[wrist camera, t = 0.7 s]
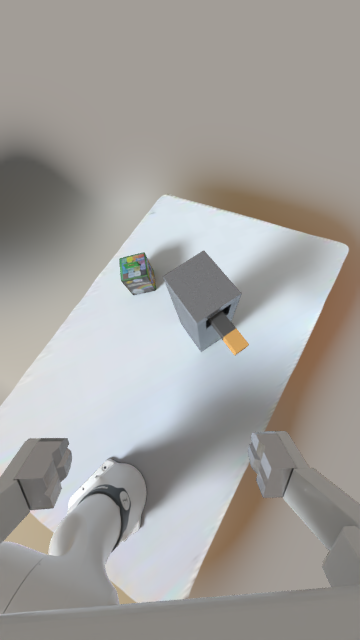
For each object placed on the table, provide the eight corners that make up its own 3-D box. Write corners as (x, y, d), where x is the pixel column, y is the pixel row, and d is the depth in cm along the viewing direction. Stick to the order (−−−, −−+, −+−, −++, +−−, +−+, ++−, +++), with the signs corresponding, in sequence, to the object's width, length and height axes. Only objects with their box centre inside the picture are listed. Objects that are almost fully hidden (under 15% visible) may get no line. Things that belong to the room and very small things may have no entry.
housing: (201, 352, 68) (196, 323, 37) (181, 323, 71) (162, 276, 41) (225, 335, 68) (241, 293, 38) (204, 307, 72) (203, 250, 42)
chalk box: (153, 270, 80) (142, 244, 66) (156, 291, 77) (145, 269, 63) (130, 274, 80) (114, 250, 66) (132, 295, 77) (115, 275, 63)
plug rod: (234, 355, 43) (236, 353, 40) (186, 291, 48) (185, 285, 46) (246, 347, 43) (249, 344, 40) (196, 285, 49) (196, 278, 46)
